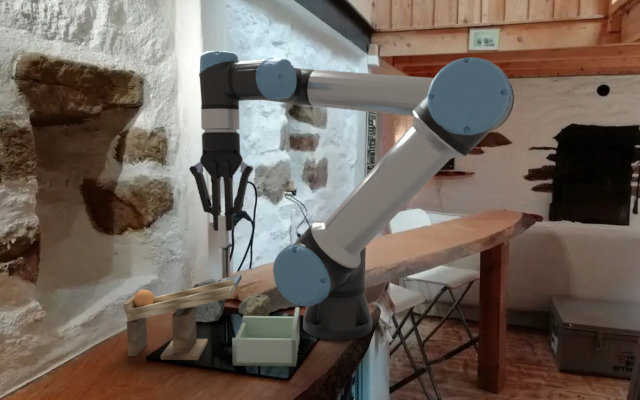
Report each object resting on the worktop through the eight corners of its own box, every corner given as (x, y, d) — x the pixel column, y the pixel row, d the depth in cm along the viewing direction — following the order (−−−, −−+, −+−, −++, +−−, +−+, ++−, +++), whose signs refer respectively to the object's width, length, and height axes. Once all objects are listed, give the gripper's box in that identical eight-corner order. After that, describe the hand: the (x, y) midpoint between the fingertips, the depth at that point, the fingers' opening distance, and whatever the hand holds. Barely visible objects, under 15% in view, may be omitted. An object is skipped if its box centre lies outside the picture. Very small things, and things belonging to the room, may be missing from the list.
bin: (299, 339, 104) (299, 307, 103) (295, 366, 92) (295, 329, 91) (243, 339, 104) (243, 306, 103) (232, 365, 92) (232, 328, 91)
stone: (193, 281, 110) (222, 269, 119) (168, 303, 115) (199, 291, 123) (216, 318, 108) (244, 303, 117) (190, 339, 113) (220, 324, 121)
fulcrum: (208, 342, 102) (207, 303, 101) (197, 360, 94) (196, 318, 93) (141, 341, 102) (139, 302, 101) (125, 359, 95) (124, 317, 93)
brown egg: (158, 302, 99) (153, 285, 99) (151, 309, 96) (147, 291, 95) (140, 306, 99) (136, 289, 99) (133, 312, 96) (128, 294, 95)
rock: (278, 317, 117) (278, 299, 117) (246, 323, 114) (246, 303, 113) (268, 308, 123) (268, 290, 123) (237, 313, 120) (236, 294, 119)
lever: (243, 282, 107) (238, 263, 106) (230, 304, 93) (224, 282, 92) (152, 303, 107) (147, 284, 107) (127, 328, 94) (120, 306, 93)
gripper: (255, 131, 105) (258, 242, 108) (194, 131, 106) (197, 242, 108) (249, 131, 98) (251, 250, 100) (183, 131, 98) (187, 249, 101)
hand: (223, 246), depth 104 cm, fingers closed
